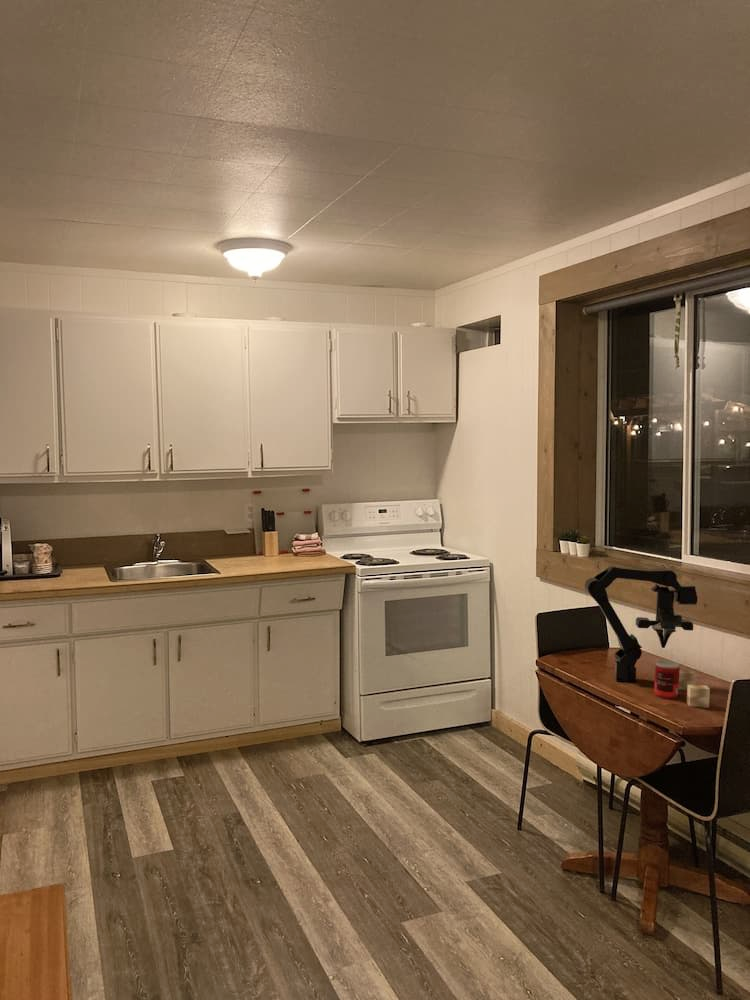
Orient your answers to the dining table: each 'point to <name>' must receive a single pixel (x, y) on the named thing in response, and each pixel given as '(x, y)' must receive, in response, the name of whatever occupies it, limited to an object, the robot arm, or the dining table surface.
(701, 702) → the beech block
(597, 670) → the dining table surface
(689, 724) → the dining table surface
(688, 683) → the grey-green block
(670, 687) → the canned food
